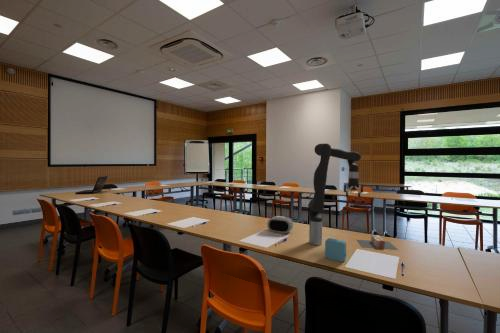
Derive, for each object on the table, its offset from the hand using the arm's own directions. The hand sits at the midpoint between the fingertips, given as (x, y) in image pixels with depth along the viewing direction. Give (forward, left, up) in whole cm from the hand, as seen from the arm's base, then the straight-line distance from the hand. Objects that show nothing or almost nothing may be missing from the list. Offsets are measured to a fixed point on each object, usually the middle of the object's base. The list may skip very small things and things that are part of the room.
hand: (353, 197), depth 198 cm
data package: (-20, -46, -33) cm, 60 cm away
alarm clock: (-58, +6, -33) cm, 67 cm away
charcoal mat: (+14, -13, -33) cm, 38 cm away
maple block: (+15, -6, -30) cm, 34 cm away
